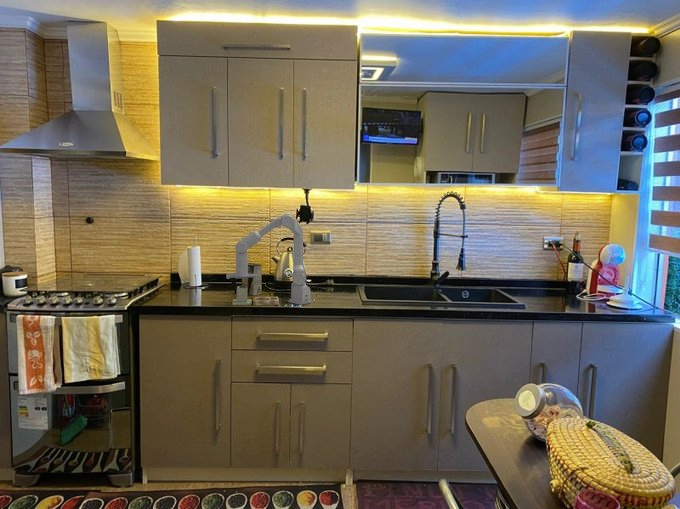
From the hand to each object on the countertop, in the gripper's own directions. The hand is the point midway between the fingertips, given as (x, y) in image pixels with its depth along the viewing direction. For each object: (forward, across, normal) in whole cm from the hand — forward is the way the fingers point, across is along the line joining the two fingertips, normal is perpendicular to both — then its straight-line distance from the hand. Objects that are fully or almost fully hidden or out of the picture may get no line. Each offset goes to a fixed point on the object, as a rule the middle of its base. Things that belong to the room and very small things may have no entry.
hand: (242, 293), depth 229 cm
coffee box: (+5, +4, +23) cm, 24 cm away
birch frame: (+5, +12, -1) cm, 13 cm away
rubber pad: (+5, 0, 0) cm, 5 cm away
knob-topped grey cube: (+4, 0, 0) cm, 4 cm away
